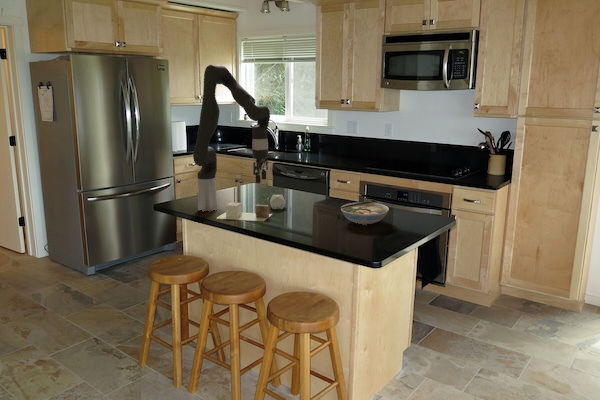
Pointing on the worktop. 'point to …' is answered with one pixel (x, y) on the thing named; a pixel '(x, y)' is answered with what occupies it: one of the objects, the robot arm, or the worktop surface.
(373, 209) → the ramen bowl
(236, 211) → the cube
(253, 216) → the white tray with block
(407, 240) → the worktop surface
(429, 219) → the worktop surface
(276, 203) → the die
